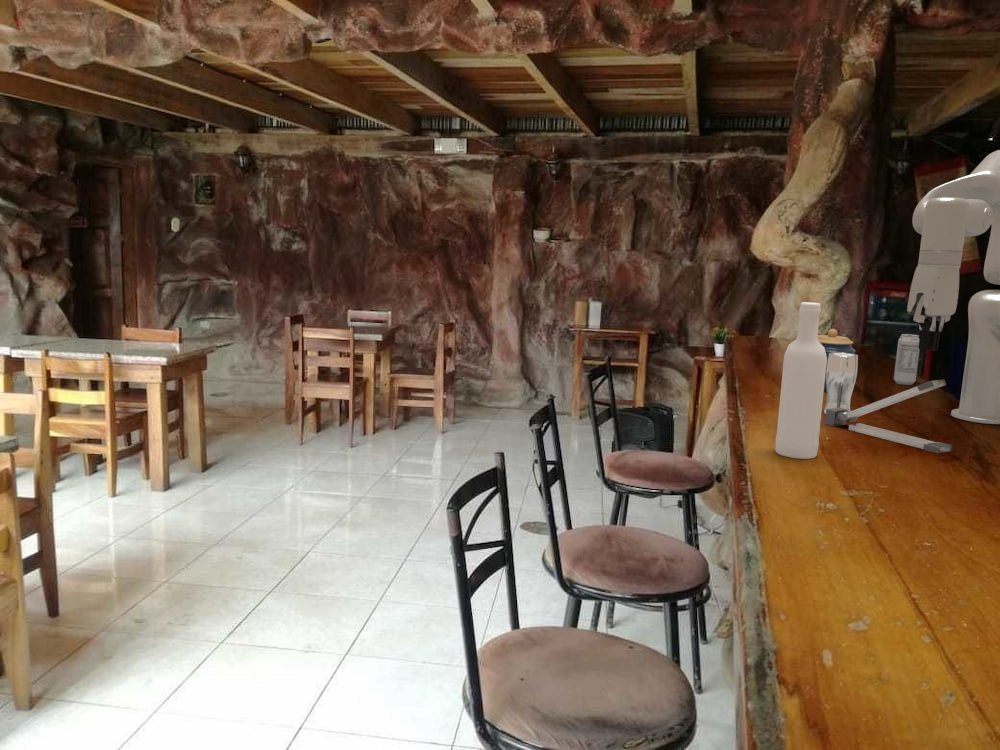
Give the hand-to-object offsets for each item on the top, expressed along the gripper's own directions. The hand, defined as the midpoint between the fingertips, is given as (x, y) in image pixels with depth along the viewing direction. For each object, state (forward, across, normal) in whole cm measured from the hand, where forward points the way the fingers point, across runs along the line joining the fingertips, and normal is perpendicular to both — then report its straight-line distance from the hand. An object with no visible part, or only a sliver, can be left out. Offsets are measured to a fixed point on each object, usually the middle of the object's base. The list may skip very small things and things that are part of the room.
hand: (927, 349), depth 158 cm
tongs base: (+20, -1, -8) cm, 22 cm away
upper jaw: (+14, 0, -7) cm, 15 cm away
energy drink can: (+20, -70, -48) cm, 87 cm away
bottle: (+21, +30, -6) cm, 37 cm away
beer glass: (+20, -10, -27) cm, 36 cm away
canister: (+20, -38, -51) cm, 66 cm away
